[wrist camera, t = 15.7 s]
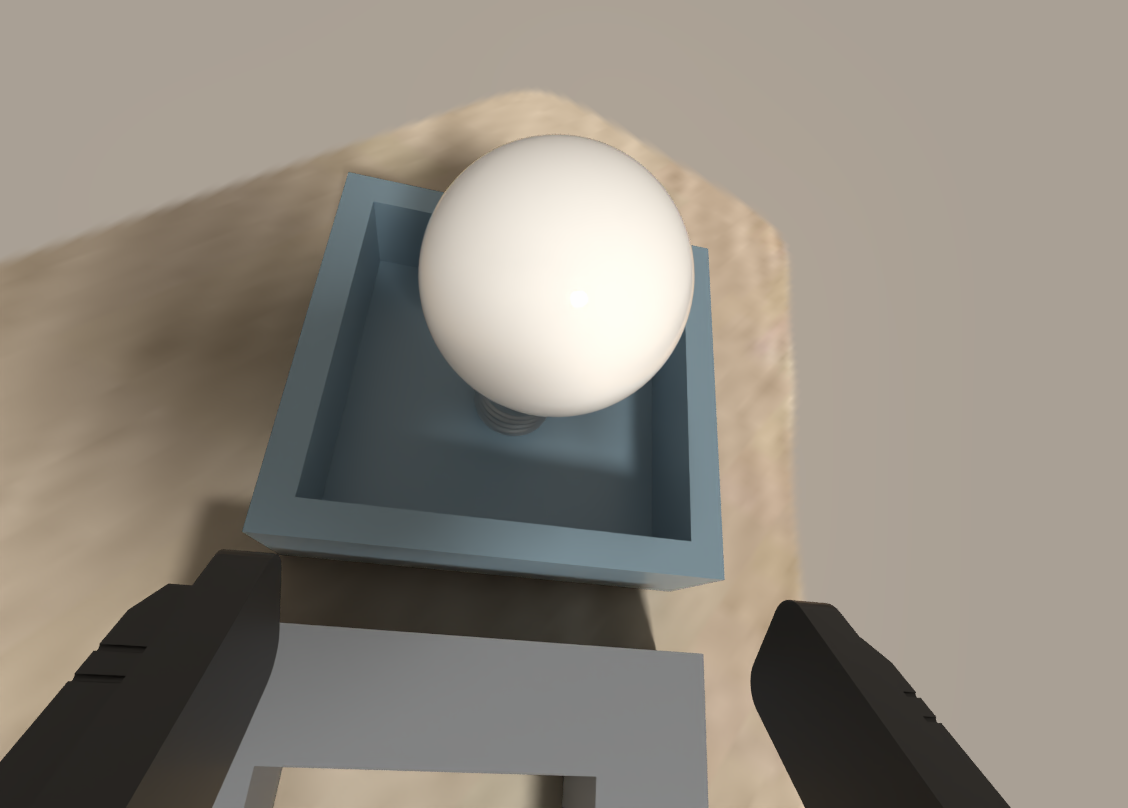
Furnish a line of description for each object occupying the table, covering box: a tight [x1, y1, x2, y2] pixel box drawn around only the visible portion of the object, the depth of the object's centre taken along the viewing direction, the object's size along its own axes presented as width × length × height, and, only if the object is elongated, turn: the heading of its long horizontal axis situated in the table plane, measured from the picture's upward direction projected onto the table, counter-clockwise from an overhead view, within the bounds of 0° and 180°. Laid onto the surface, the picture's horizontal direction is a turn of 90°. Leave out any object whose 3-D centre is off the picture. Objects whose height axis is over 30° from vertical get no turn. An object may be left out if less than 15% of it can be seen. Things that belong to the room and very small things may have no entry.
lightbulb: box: [418, 134, 695, 436], centre depth 15 cm, size 6×6×11 cm
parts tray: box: [242, 172, 724, 591], centre depth 19 cm, size 13×12×4 cm
